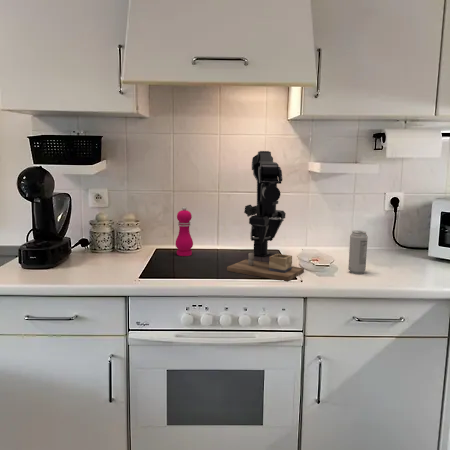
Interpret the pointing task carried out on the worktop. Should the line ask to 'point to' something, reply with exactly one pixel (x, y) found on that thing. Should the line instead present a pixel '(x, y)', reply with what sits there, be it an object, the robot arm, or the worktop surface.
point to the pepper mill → (184, 233)
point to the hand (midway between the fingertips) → (267, 240)
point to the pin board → (262, 269)
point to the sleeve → (280, 263)
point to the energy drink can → (358, 252)
